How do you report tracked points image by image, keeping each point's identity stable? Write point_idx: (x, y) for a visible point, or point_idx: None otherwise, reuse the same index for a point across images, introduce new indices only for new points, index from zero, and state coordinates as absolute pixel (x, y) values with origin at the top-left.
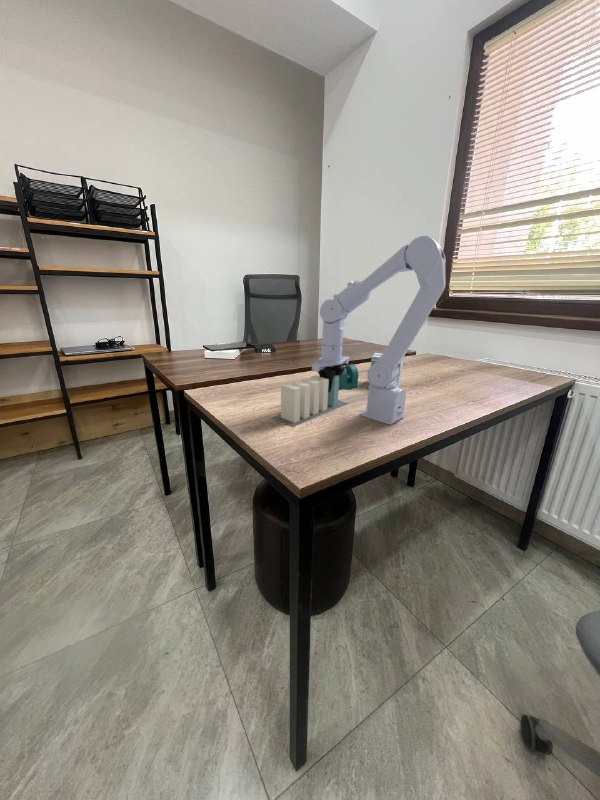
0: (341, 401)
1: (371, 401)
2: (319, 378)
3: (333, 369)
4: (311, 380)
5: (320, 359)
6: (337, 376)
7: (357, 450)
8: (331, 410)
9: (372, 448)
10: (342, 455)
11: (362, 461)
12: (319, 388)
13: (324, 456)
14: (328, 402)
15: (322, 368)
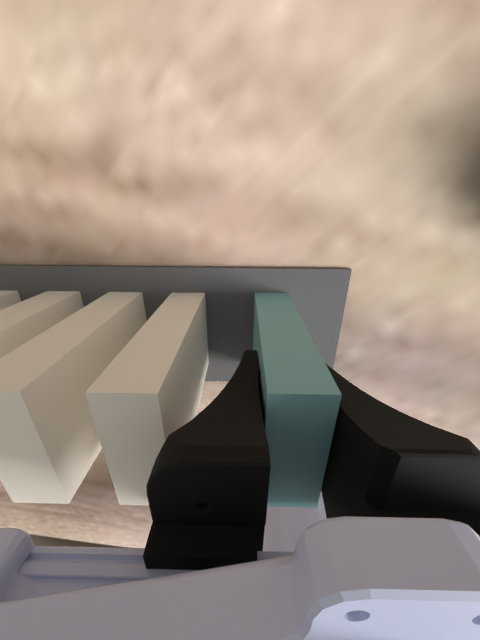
0: (332, 351)
1: (264, 538)
2: (124, 464)
3: (347, 512)
4: (28, 455)
5: (298, 607)
6: (291, 506)
7: (86, 519)
8: (212, 379)
9: (120, 530)
10: (43, 512)
11: (65, 536)
12: (96, 456)
13: (4, 496)
14: (253, 344)
15: (128, 573)
